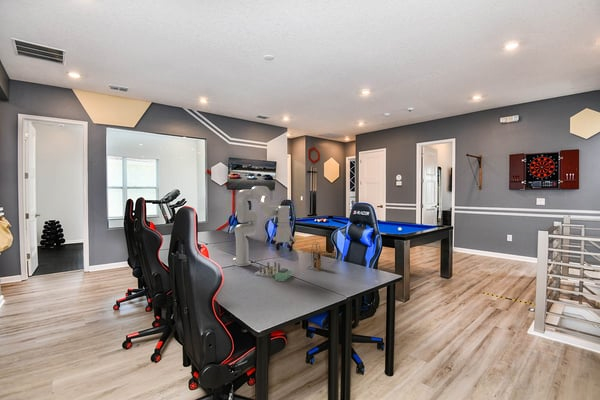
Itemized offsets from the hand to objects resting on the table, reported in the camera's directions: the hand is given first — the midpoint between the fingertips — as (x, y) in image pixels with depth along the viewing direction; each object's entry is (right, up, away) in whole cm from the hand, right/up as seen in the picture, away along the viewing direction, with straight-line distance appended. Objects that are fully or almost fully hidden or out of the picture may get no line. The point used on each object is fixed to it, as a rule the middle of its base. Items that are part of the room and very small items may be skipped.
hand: (284, 250), depth 191 cm
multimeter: (+19, -17, +21) cm, 33 cm away
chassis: (-11, -18, +13) cm, 24 cm away
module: (-1, -18, -1) cm, 18 cm away
